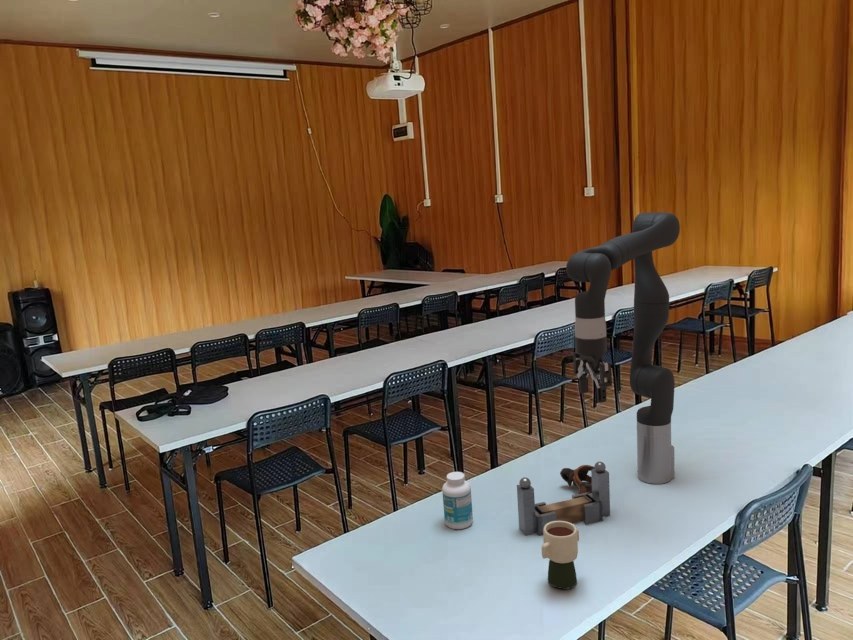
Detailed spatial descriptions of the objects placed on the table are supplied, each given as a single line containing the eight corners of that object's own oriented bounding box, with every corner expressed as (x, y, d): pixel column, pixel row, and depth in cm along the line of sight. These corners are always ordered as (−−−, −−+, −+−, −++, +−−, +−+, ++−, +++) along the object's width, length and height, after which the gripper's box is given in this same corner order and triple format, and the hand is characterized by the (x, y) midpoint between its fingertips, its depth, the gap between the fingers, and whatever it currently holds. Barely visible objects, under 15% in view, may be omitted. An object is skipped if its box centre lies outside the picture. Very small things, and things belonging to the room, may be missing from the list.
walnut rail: (585, 513, 172) (585, 495, 171) (592, 519, 169) (592, 500, 168) (537, 524, 169) (536, 506, 168) (543, 531, 165) (542, 512, 164)
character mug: (567, 566, 150) (565, 514, 147) (592, 580, 144) (590, 525, 141) (532, 585, 144) (529, 531, 141) (556, 600, 138) (553, 544, 135)
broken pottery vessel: (602, 483, 189) (607, 466, 184) (596, 510, 183) (601, 493, 177) (561, 471, 193) (565, 453, 187) (553, 497, 186) (557, 480, 181)
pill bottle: (440, 520, 175) (436, 473, 172) (466, 513, 177) (462, 466, 175) (451, 533, 168) (447, 484, 165) (477, 526, 170) (474, 477, 168)
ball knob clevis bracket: (599, 506, 175) (598, 456, 172) (613, 518, 169) (612, 465, 166) (516, 526, 169) (513, 473, 166) (527, 538, 163) (524, 484, 160)
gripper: (620, 337, 156) (621, 402, 159) (589, 327, 169) (591, 387, 173) (592, 342, 154) (594, 408, 157) (563, 330, 167) (565, 391, 171)
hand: (592, 397), depth 165 cm, fingers open, 8 cm apart
